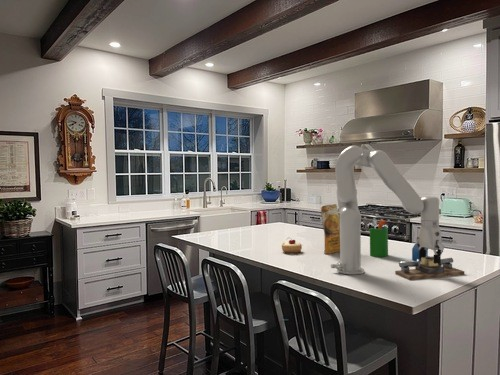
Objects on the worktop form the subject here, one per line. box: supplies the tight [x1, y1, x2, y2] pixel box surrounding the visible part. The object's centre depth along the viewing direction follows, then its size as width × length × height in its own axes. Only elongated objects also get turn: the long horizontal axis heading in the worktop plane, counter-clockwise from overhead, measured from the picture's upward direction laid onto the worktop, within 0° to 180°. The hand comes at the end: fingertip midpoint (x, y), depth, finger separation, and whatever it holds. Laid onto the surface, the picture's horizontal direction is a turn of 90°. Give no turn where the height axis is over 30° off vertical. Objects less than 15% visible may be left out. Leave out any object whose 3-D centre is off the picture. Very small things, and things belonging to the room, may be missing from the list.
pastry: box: [281, 237, 303, 254], centre depth 230 cm, size 12×12×9 cm
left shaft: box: [398, 260, 421, 273], centre depth 177 cm, size 9×4×7 cm, turn 94°
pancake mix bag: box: [320, 203, 340, 255], centre depth 228 cm, size 7×19×28 cm, turn 132°
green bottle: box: [369, 220, 389, 258], centre depth 217 cm, size 10×9×20 cm
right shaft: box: [438, 257, 454, 269], centre depth 181 cm, size 9×4×7 cm, turn 114°
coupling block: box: [420, 255, 438, 268], centre depth 177 cm, size 5×5×7 cm
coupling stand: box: [394, 265, 465, 281], centre depth 177 cm, size 29×10×4 cm, turn 104°
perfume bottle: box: [411, 236, 429, 262], centre depth 205 cm, size 6×6×12 cm
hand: (429, 260), depth 177 cm, fingers open, 9 cm apart
